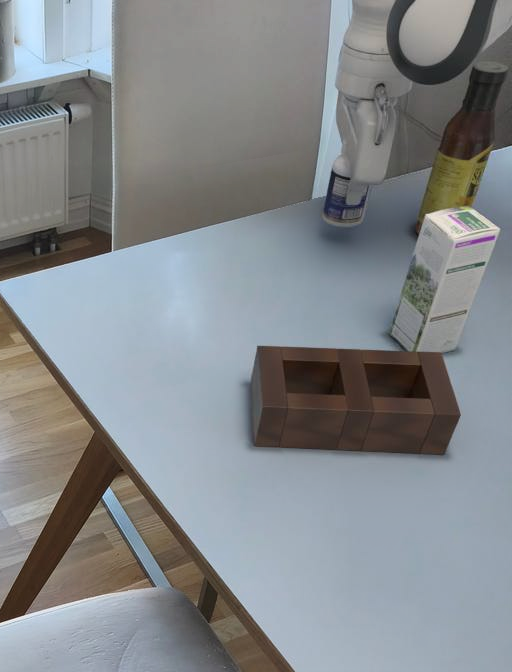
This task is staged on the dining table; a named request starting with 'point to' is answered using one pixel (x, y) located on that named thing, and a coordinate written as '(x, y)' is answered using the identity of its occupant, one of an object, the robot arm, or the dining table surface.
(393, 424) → the socket block
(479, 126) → the sauce bottle
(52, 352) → the dining table surface
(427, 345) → the syrup box
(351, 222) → the pill bottle
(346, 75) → the robot arm
